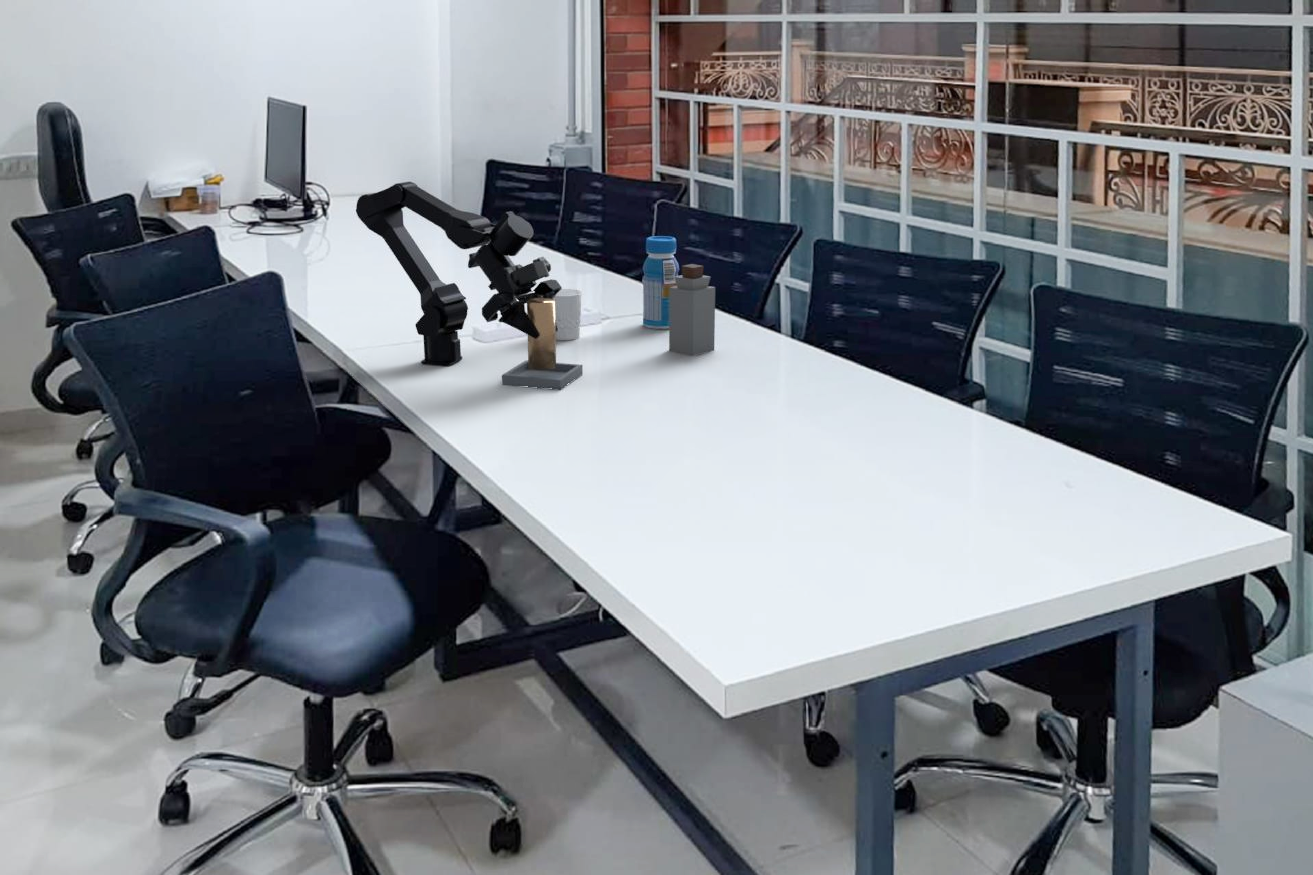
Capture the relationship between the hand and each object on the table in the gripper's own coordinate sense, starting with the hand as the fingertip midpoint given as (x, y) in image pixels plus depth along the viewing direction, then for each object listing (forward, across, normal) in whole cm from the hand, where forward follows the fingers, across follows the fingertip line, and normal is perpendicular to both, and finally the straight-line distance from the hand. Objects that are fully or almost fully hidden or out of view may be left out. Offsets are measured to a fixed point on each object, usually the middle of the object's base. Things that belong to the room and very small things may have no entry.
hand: (547, 334), depth 266 cm
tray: (+6, 0, +7) cm, 9 cm away
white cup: (-7, +31, +21) cm, 38 cm away
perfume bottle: (+14, +36, -1) cm, 39 cm away
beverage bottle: (+1, +52, +12) cm, 54 cm away
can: (+4, 0, +6) cm, 7 cm away
